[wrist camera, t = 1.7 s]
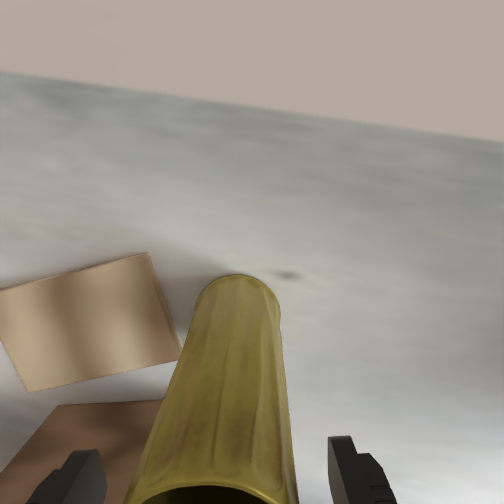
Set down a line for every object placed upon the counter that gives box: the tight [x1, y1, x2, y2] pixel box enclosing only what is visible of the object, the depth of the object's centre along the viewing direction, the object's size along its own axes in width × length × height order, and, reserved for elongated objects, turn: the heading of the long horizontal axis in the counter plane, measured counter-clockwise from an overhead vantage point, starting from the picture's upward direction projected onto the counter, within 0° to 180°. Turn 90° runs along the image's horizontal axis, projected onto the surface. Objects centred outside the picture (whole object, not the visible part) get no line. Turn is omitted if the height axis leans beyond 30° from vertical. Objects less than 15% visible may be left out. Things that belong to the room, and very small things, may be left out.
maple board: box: [0, 252, 182, 393], centre depth 22 cm, size 12×8×2 cm, turn 104°
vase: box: [123, 275, 299, 504], centre depth 15 cm, size 6×6×14 cm
